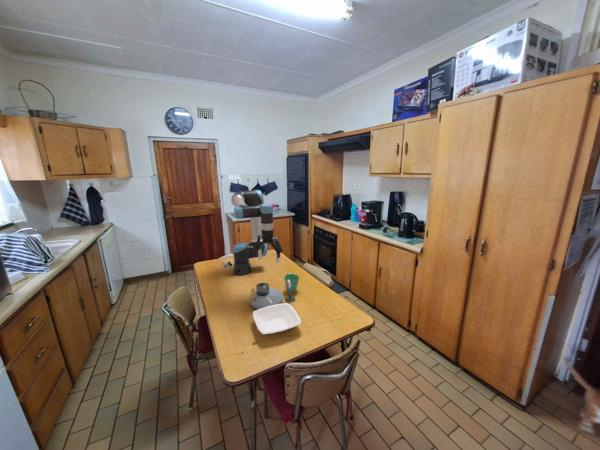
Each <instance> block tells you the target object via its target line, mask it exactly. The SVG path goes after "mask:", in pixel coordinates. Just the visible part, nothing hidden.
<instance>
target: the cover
mask: <svg viewBox="0 0 600 450" xmlns="http://www.w3.org/2000/svg"><path fill="white" fill-rule="evenodd" d="M255 287H256V288H255V291H257V295H258V296H266V295H268V294H269V288H270V283H268V282H260V283H258V284H256V286H255Z"/></svg>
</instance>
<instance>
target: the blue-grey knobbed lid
mask: <svg viewBox="0 0 600 450" xmlns="http://www.w3.org/2000/svg"><path fill="white" fill-rule="evenodd" d="M250 293H251V294H250V295H249V303H250V306H251V307H252V308H255V309H256V310H258V309H260V308H264V307H267V306H271V305H276V304H282V303H283V293H282V292H281V291H280V290H278V289H275V288H271V287H269V294H268V295H266V296H258V295H257V290H256V288H253V287H252V288H251V289H250Z"/></svg>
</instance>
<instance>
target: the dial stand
mask: <svg viewBox="0 0 600 450" xmlns="http://www.w3.org/2000/svg"><path fill="white" fill-rule="evenodd" d="M285 286H287V287H288V288H289V291H288V296H285V297H284V300H285V302H286V303H288V304H290V303H292V302H295V301H296V298H295V297H294V296H293V295H292V293H291V282H290V280H289V279H288V280H286V284H285ZM287 287H286V288H287Z"/></svg>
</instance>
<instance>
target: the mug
mask: <svg viewBox="0 0 600 450" xmlns="http://www.w3.org/2000/svg"><path fill="white" fill-rule="evenodd" d="M283 279H284V284H285V286H286V280H288V279H289V280H290V282H291V292H292V293H295V292H296V290H297V287H298V284H299V280H300V278H299V275H297V274H296V273H295V274H293V273H290V272H286V275H285V276H284V277H283ZM286 289H287V291H288V292H289V288H288V287H287V286H286Z"/></svg>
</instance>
